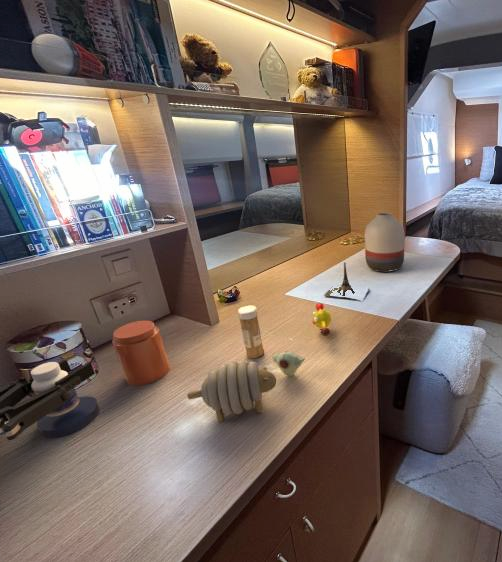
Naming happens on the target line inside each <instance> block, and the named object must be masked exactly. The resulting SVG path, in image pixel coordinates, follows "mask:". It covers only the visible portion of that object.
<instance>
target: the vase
mask: <svg viewBox="0 0 502 562" xmlns="http://www.w3.org/2000/svg"><path fill="white" fill-rule="evenodd" d="M405 236H406V235H405V227H404V226H403V224H402V223H401V222H400V221H399V220H398V219H396V218H395V217H394V216H393V213H391V212H377V213H376V216H375V217H374V218H373V219H372V220H371V221H369V223H367V225H366V227H365V230H364V253H365V254H364V255H365V256H364V257H365V262H366V263H365V264H366V265H367V266H368V268H369V269H370V268H371V269H370V270H372V269H373V270H372V271H374V270H378V271H389V270H395V269H397V270H399V269H401V268H402V267H403V265H404V261H405V243H406V242H405V239H406V238H405ZM398 268H399V269H398ZM378 271H377V272H378ZM395 271H396V270H395Z"/></svg>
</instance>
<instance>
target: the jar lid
mask: <svg viewBox="0 0 502 562" xmlns="http://www.w3.org/2000/svg"><path fill="white" fill-rule="evenodd" d="M78 398H79V403H78V405H77V406H76V407H75V408H74V409H72V410H71V411H69V412H67V413H65V414H62V415H59V416H54V417H49V416H44V417H43V418H41V419H40V420H38V421H37V422H36V428H37V429H38V431H39V433H40V435H41V436H42V437H44V438H46V439H55V438H61V437H65V436H68V435H71V434H73V433H76V432H77V431H80V430H81V429H83V428H85V427H86V426H88V425H89V424H90V423H92V421H94V420H95V419H96V418H97V416H98V415H99V414H100V411H101V406H100V404H99V401H98V399H97V398H96V397H94V396H90V395H84V396H78Z"/></svg>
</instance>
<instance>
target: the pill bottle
mask: <svg viewBox="0 0 502 562" xmlns="http://www.w3.org/2000/svg"><path fill="white" fill-rule="evenodd" d="M58 363H59V362H57V361H49V362H45V363H41V364H39V365H37V366H36V367H33V368H32V369H31V371H30V375H31V378H33V379H34V381H33V382H32V385H31V387H32V390H33V391H32V392H33V393H34V396H35V395H37V394H39V393H41V392H44V391H46V390H48V389H50V388H52V387H54V386H56V385H55V382H57V381H59V380H60V379H62V378H64V377H65V376H67V375H68V374H69V372H68V373H67V372H66V371H63V370H61V369H60V366H59V364H58ZM75 388H76V387H75ZM75 388H73V389H72V390H70V391H69V392H67V394H68V396H69V398H70V399H69V400H68V401H67V402H66V403H64V404H63V405H61V406H60V407H58V408H56V409H55V410H53V411H52V412H50V413H49V414H47V415H46V416H49V417H54V416H59V415H62V414H65V413H67V412H69V411H71V410H72V409H74V408H75V407H76V406H77V405H78V403H79V398H78V397H79V395H78V393H77V390H76V389H75Z"/></svg>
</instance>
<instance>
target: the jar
mask: <svg viewBox="0 0 502 562" xmlns="http://www.w3.org/2000/svg"><path fill="white" fill-rule="evenodd" d="M163 341H164V340H163V339H162V335H161V331H160V329H159V327H158V326H156V325H155V323H154V322H153V321H151V320H138V321H132V322H130V323H127V324H124V325H122V326H120V327H118V328H117V329H116V330H114V332H113V334H112V341H111V343H112V345H113V348H114V351H115V354H116V356H117V359H118V361H119V364H120V368H121V370H122V371H123V375H124V377H125V380H126V382H127V384H128V385H131V386H145V385H148V384H151V383H154V382H156V381H158V380H160V379H162V378H163V377H164V376H166V375H167V374H168V373H169V371H170V369H171V363H170V361H169V358H168V355H167V351H166V349H165V348H166V347H165V345H164V342H163Z"/></svg>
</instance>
